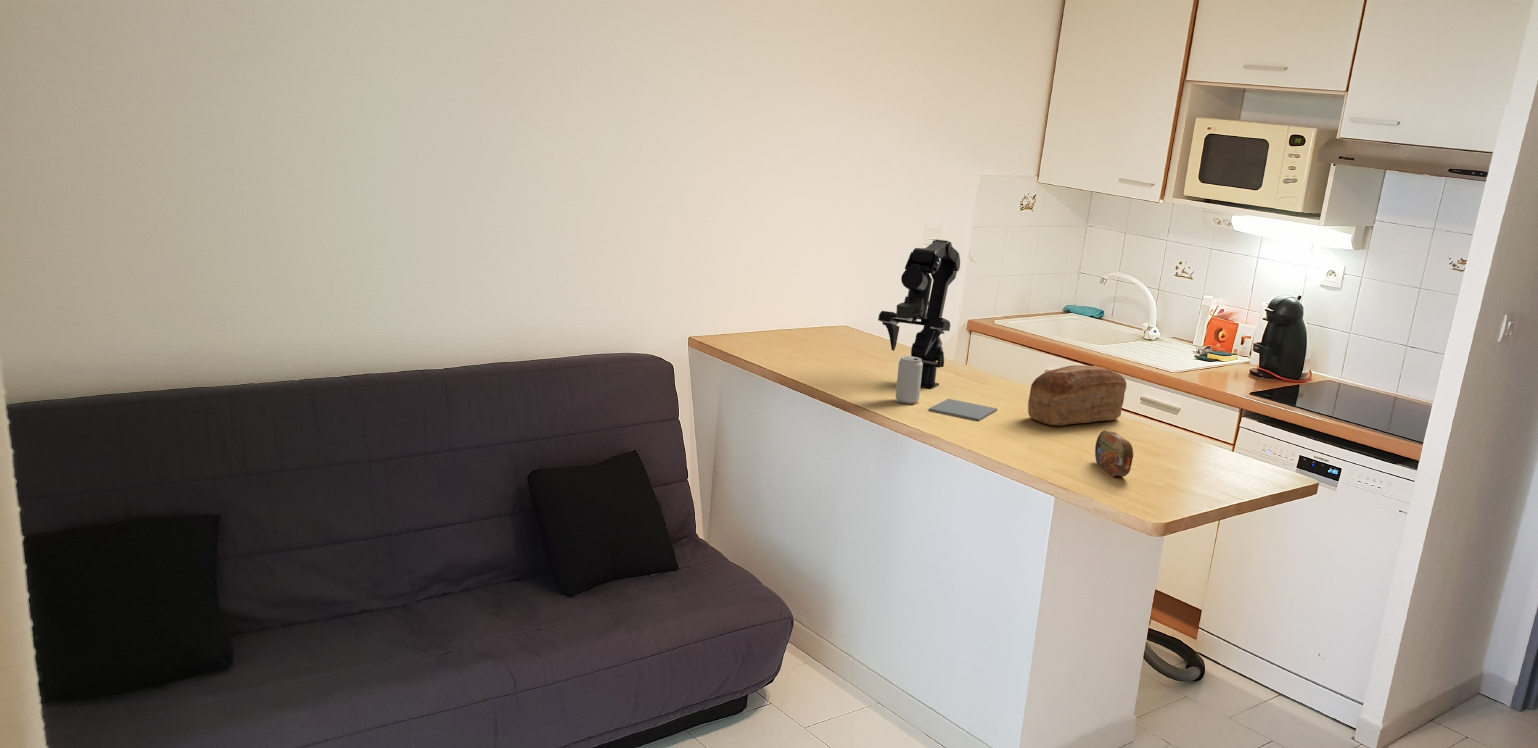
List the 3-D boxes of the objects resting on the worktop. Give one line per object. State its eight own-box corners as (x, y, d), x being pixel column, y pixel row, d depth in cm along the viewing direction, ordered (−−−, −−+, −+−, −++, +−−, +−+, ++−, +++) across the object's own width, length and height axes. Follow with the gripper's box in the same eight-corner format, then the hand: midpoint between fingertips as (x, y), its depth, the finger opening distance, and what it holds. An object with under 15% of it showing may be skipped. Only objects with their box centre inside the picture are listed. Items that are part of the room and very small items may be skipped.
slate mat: (948, 400, 293) (948, 398, 293) (997, 410, 287) (997, 408, 286) (928, 410, 282) (928, 408, 281) (979, 421, 275) (979, 418, 275)
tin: (1092, 460, 248) (1097, 425, 246) (1105, 460, 249) (1110, 426, 247) (1117, 481, 234) (1123, 445, 232) (1131, 482, 234) (1137, 445, 232)
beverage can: (918, 405, 285) (922, 361, 282) (894, 402, 286) (898, 359, 284) (919, 399, 291) (924, 357, 288) (896, 397, 292) (900, 354, 290)
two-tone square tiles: (899, 398, 292) (899, 398, 291) (918, 402, 289) (918, 402, 289) (894, 401, 289) (895, 400, 289) (914, 405, 286) (914, 404, 286)
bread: (1128, 422, 285) (1136, 369, 282) (1052, 430, 271) (1059, 376, 268) (1094, 410, 295) (1102, 359, 292) (1019, 418, 281) (1026, 365, 278)
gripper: (875, 286, 283) (865, 344, 283) (940, 293, 274) (930, 353, 274) (891, 293, 293) (881, 349, 293) (955, 300, 284) (945, 358, 283)
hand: (908, 352), depth 285 cm, fingers open, 9 cm apart
